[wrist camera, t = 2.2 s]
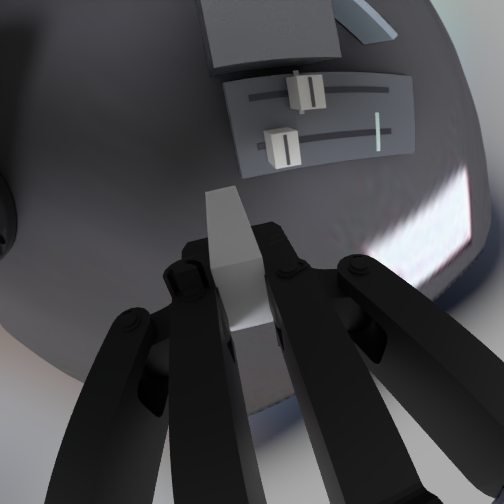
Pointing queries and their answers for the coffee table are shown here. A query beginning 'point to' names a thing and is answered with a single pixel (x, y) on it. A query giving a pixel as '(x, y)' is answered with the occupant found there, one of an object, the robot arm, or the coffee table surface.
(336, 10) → the door
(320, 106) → the fader
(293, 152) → the fader
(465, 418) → the robot arm
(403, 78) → the console
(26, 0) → the coffee table surface
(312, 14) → the cabinet
